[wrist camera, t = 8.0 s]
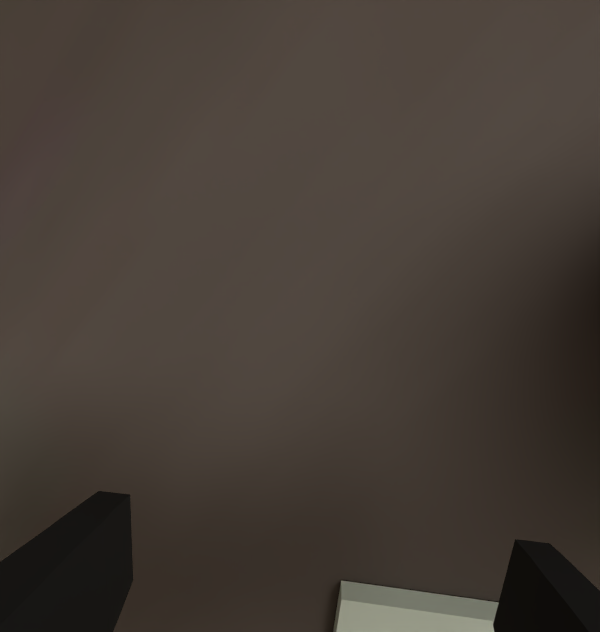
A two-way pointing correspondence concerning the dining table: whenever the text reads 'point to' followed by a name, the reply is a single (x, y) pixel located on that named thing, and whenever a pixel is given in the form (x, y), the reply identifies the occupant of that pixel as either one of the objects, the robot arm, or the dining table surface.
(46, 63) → the dining table surface
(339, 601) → the coaster
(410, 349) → the dining table surface
